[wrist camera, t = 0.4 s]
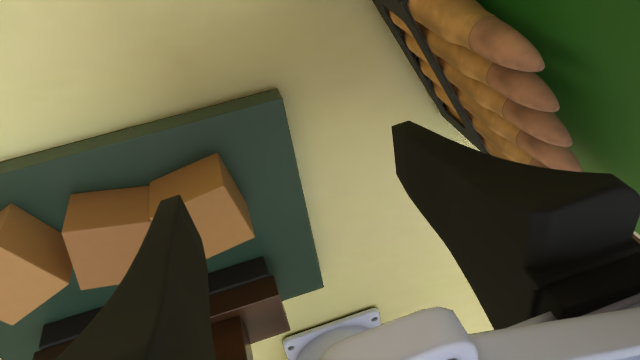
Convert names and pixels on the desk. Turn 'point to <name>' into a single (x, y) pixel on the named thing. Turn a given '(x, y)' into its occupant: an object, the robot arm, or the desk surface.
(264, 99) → the desk board
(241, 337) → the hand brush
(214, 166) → the cardboard box
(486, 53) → the ammunition clip
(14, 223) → the wooden block
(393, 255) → the desk surface
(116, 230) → the light brown cube
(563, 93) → the hardback book
